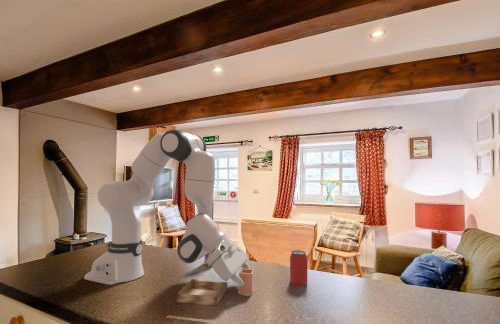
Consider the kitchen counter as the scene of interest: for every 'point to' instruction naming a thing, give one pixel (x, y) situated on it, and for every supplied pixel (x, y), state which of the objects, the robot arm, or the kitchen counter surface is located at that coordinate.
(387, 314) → the kitchen counter surface
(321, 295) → the kitchen counter surface
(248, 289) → the collar
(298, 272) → the beer can
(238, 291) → the silver knob
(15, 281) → the kitchen counter surface
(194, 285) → the tray
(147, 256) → the kitchen counter surface
